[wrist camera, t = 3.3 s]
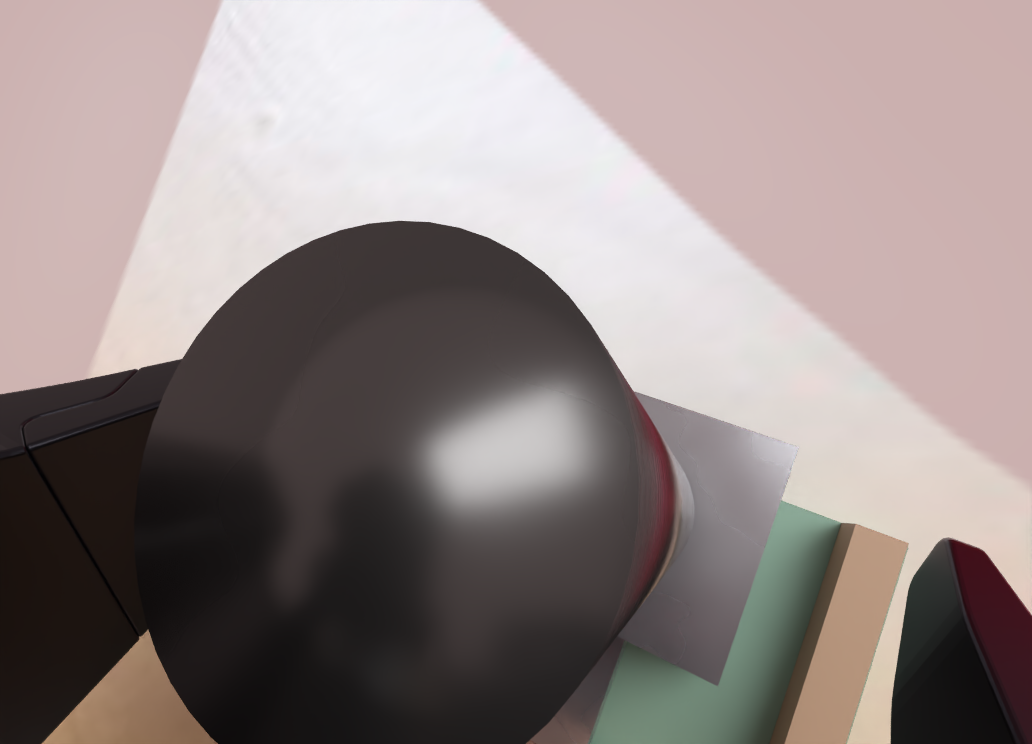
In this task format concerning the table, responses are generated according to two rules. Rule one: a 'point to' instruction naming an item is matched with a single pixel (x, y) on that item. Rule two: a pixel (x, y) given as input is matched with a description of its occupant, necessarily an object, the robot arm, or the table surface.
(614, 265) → the table surface
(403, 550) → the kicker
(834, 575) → the pitch
